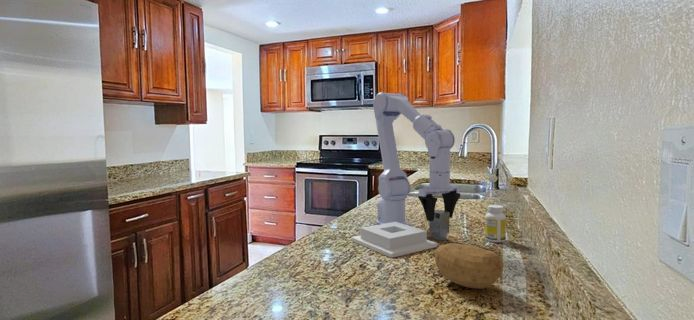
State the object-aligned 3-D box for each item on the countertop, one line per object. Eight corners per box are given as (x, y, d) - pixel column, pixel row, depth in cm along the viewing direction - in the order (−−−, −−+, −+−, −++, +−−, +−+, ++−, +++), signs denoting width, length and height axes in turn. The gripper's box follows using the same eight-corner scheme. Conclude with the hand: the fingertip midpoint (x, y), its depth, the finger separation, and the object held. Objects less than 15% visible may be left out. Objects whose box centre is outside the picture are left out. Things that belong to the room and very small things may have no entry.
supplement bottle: (502, 237, 107) (502, 204, 106) (508, 243, 101) (509, 208, 101) (482, 237, 107) (483, 204, 107) (488, 242, 102) (488, 208, 101)
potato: (450, 269, 82) (450, 234, 82) (512, 289, 72) (513, 249, 71) (422, 281, 76) (422, 243, 75) (486, 304, 65) (486, 260, 65)
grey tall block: (429, 238, 107) (429, 211, 106) (438, 236, 109) (439, 209, 109) (439, 241, 104) (439, 213, 103) (449, 239, 106) (449, 211, 105)
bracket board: (351, 240, 105) (351, 226, 105) (394, 232, 114) (394, 219, 114) (391, 257, 90) (391, 242, 90) (437, 246, 99) (437, 232, 99)
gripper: (431, 174, 98) (431, 225, 99) (467, 171, 106) (467, 217, 106) (413, 172, 104) (413, 220, 105) (448, 169, 112) (448, 213, 112)
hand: (439, 218), depth 106 cm, fingers open, 7 cm apart
